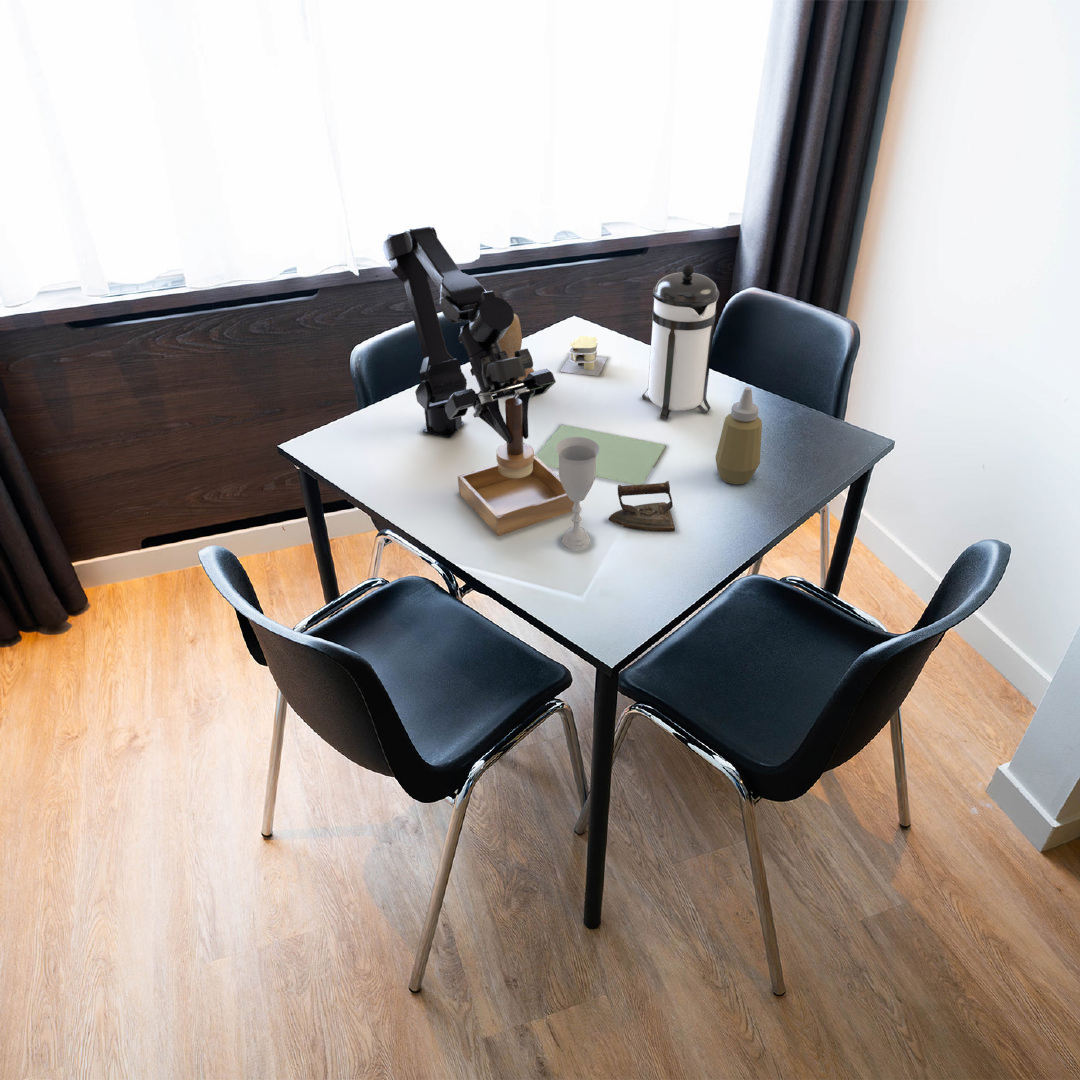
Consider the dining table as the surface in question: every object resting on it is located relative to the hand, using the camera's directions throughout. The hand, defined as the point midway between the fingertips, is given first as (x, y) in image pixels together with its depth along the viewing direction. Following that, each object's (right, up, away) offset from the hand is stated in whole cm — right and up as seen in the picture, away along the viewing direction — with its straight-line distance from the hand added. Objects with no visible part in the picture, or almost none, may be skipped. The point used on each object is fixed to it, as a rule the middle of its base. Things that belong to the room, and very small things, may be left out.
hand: (518, 440), depth 141 cm
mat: (+15, 0, +22) cm, 27 cm away
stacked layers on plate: (+14, +24, +55) cm, 61 cm away
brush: (-1, -4, +5) cm, 7 cm away
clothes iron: (+21, -13, +4) cm, 25 cm away
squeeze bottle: (+40, -5, +15) cm, 43 cm away
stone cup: (-4, +19, +49) cm, 52 cm away
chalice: (+10, -17, -1) cm, 20 cm away
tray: (-1, -10, +9) cm, 13 cm away
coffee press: (+32, +12, +39) cm, 52 cm away
